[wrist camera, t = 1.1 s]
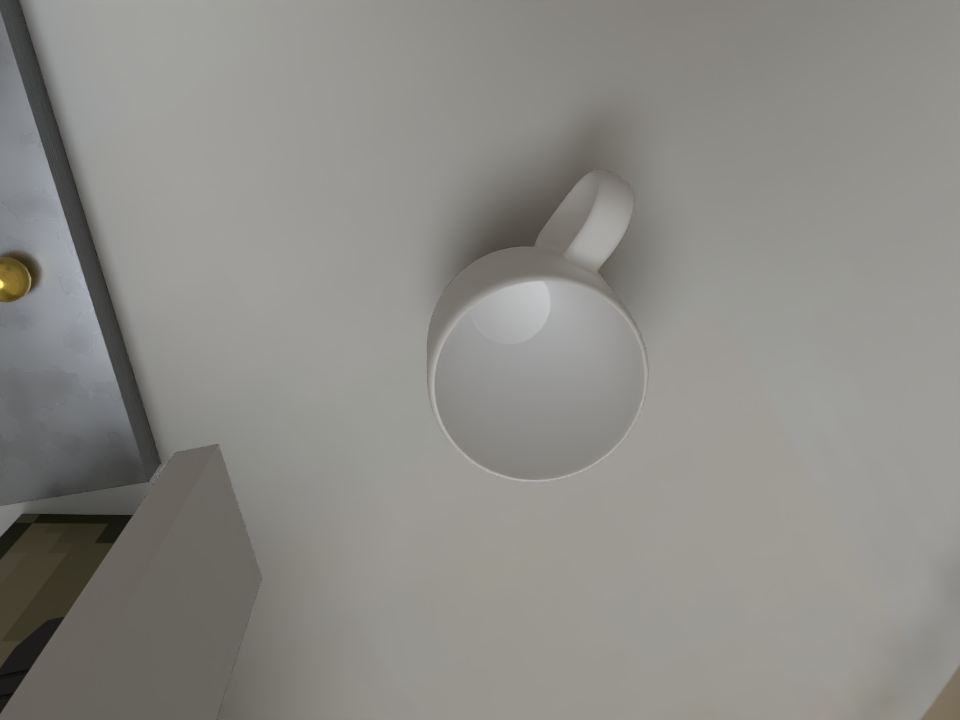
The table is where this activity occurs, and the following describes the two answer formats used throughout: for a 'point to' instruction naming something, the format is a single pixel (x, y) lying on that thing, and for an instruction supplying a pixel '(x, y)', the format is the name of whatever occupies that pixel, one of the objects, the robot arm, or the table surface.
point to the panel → (55, 311)
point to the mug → (541, 346)
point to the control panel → (48, 568)
